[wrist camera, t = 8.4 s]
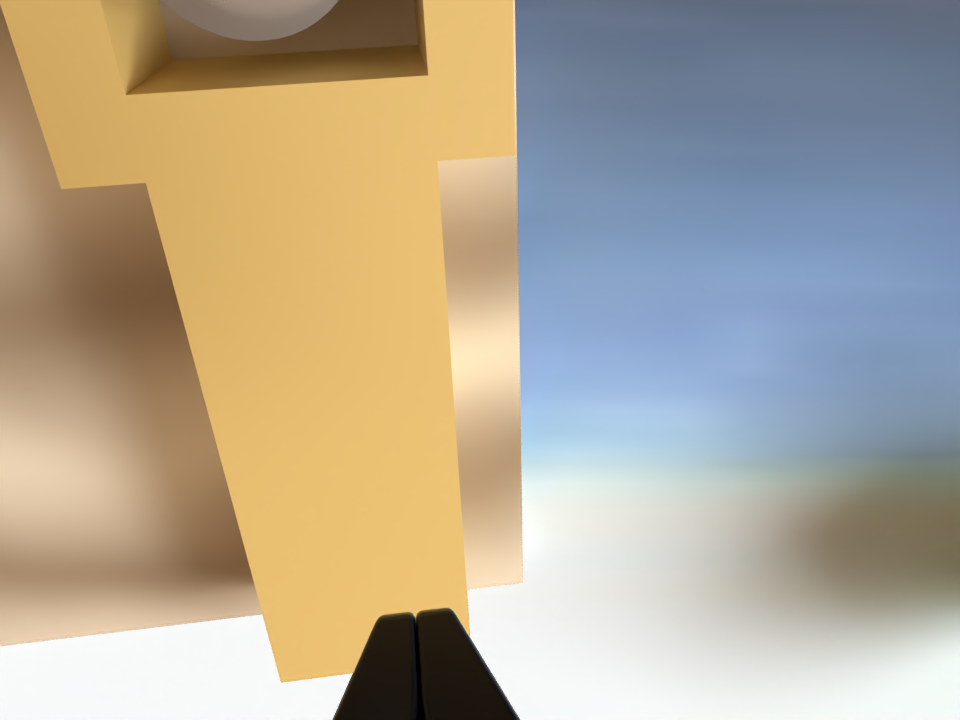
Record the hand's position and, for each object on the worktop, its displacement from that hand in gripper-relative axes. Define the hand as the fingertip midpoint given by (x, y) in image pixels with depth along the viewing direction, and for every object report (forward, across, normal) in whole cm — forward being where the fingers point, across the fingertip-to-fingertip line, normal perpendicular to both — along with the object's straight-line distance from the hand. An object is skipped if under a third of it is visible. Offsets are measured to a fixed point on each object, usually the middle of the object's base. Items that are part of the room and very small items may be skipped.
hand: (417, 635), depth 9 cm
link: (+9, +1, -1) cm, 9 cm away
